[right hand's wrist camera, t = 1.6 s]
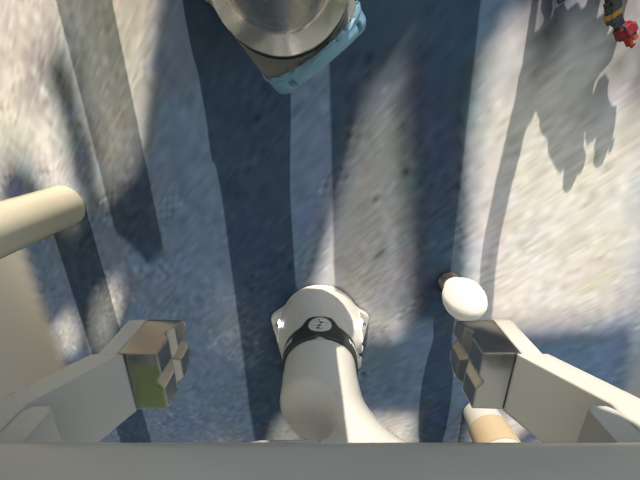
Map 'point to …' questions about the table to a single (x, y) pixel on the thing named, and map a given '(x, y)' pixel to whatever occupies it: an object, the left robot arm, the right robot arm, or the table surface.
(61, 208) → the bottle
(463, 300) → the light bulb
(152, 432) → the table surface
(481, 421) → the coffee cup
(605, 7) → the toy
